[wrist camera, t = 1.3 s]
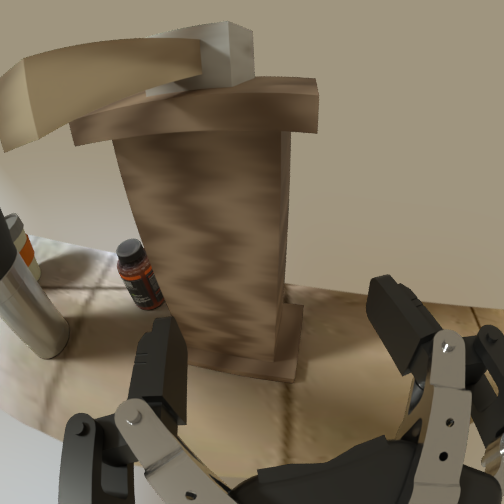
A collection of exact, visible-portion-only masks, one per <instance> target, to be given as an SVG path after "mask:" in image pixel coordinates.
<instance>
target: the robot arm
mask: <svg viewBox="0 0 504 504" xmlns="http://www.w3.org/2000/svg"><path fill="white" fill-rule="evenodd" d="M366 312H367V316H368V319H369V320H370V322H371V324H372V325H373V327H374V329H375V330H376V332H377V334H378V335H379V337H380V339H381V340H382V342H383V344H384V345H385V347H386V349H387V350H388V352H389V354H390V356H391V357H392V359H393V361H394V363H395V364H396V366H397V368H398V370H399V371H400V373H401V375H402V376H404V375H407V374H409V373H412V374H413V376H414V377H413V379H412V383H411V388H410V393H409V398H408V402H407V407H406V411H405V415H404V418H403V421H402V423H401V425H400V427H399V429H398V432H397V434H396V437H395V440H386V438H385V435H382V436H380V437H377V438H375V439H372V440H370V441H367V442H364V443H362V444H359V445H356V446H354V447H353V448H351V449H349V450H348V451H346V452H344V453H343V454H341V455H339V456H338V457H336V458H334V459H332V460H330V461H329V462H326V463H314V464H287V465H281V466H276V467H270V468H264V469H257V472H258V475H256V476H253V477H251V478H249V479H247V480H245V481H243V482H242V483H240V484H238V485H237V486H236V487H235V488H233V489H231V488H230V487H229V486H227V484H226V483H224V482H223V481H222V480H221V479H220V478H219V477H218V476H217V475H216V474H214V473H213V472H212V471H211V470H210V469H209V468H208V467H207V466H206V465H205V464H204V463H203V462H202V461H201V460H200V459H199V458H198V457H197V456H196V455H195V454H194V453H193V452H192V451H191V450H190V448H189V447H188V446H187V445H186V444H185V443H184V442H183V441H182V439H181V438H180V437H179V436H178V435H177V432H178V425H187V366H188V350H187V345H186V342H185V340H184V337H183V335H182V333H181V331H180V328H179V326H178V324H177V321H176V319H175V318H174V317H173V316H171V317H163V318H156V319H155V320H154V323H153V328H152V332H148V333H145V334H144V335H143V337H142V338H141V340H140V341H139V343H138V347H137V352H136V356H135V361H134V363H135V365H134V366H133V372H132V377H131V383H130V388H129V394H128V399H127V400H126V401H124V402H123V403H122V404H120V405H119V407H118V408H117V410H116V412H115V413H114V414H111V415H108V416H104V417H101V418H97V419H93V418H92V417H91V416H90V415H88V414H85V413H78V414H75V415H74V416H72V417H71V418H70V419H69V421H68V422H67V424H66V428H65V434H64V441H63V449H62V456H61V467H60V477H59V495H58V504H135V496H134V462H137V461H139V462H140V463H141V465H142V466H143V468H144V469H145V473H144V475H145V478H146V479H147V481H148V482H149V484H150V485H151V486H152V488H153V489H154V490H155V491H156V493H157V494H158V495H159V496H160V498H161V499H162V500H163V501H164V502H165V504H501V501H502V496H504V335H503V333H502V332H501V331H500V330H499V329H498V328H497V327H495V326H492V325H484V326H483V327H481V329H480V330H479V332H478V334H477V335H476V336H468V337H461V336H460V335H459V334H458V333H457V332H455V331H452V330H443V329H442V327H441V326H440V325H439V324H438V322H437V321H436V320H435V318H434V317H433V316H432V315H431V313H430V312H429V311H428V310H427V308H426V307H425V306H423V304H422V302H421V301H420V300H419V299H417V296H416V295H415V294H414V293H413V292H412V291H411V289H409V288H407V287H406V286H404V285H403V284H401V283H400V284H397V283H396V282H395V280H394V279H393V278H392V277H391V276H390V275H383V276H379V277H375V278H372V279H371V281H370V286H369V292H368V298H367V303H366ZM0 317H1V318H2V319H3V321H4V322H5V323H6V324H7V325H8V326H9V327H10V328H11V330H12V331H13V332H14V333H15V334H16V335H17V336H18V337H19V338H20V339H21V340H22V341H23V342H24V343H25V344H26V345H27V346H28V347H29V348H30V349H31V350H32V351H33V352H34V353H35V354H36V355H37V356H39V357H40V358H43V359H49V358H52V357H54V356H56V355H57V354H59V353H60V352H61V351H62V349H63V348H64V347H65V345H66V343H67V341H68V338H69V325H68V323H67V321H66V320H65V319H64V317H63V316H62V315H61V314H60V312H59V311H58V310H57V309H56V307H55V306H54V304H53V303H52V302H51V300H50V299H49V298H48V296H47V295H46V294H45V292H44V291H43V289H42V288H41V286H40V285H39V284H38V282H37V281H36V279H35V278H34V276H33V275H32V273H31V272H30V270H29V268H28V267H27V265H26V264H25V262H24V260H23V259H22V257H21V255H20V254H19V252H18V250H17V249H16V247H15V245H14V243H13V241H12V238H11V234H10V231H9V228H8V225H7V223H6V220H5V218H4V216H3V213H2V211H1V209H0ZM487 369H488V371H489V373H490V374H491V376H492V378H493V379H494V381H495V383H496V385H497V386H498V389H499V394H498V397H497V395H496V394H495V392H494V390H493V388H492V387H491V385H490V383H489V381H488V380H487V378H486V376H485V374H484V373H485V372H486V371H487ZM470 415H471V417H472V419H473V421H474V423H475V425H476V427H477V429H478V432H479V434H480V436H481V439H482V441H483V444H484V446H485V448H486V451H485V455H484V456H483V458H482V460H481V464H482V466H483V467H486V469H485V472H482V471H479V470H477V469H474V468H471V467H468V466H466V465H464V464H463V461H464V456H465V451H466V446H467V439H468V432H469V424H470Z"/></svg>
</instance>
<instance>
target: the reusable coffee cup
mask: <svg viewBox="0 0 504 504" xmlns="http://www.w3.org/2000/svg"><path fill="white" fill-rule="evenodd" d="M4 218H5V220H6V223H7V225H8V228H9V231H10V234H11V238H12V241H13V243H14V245H15V247H16V249H17V250H18V252H19V254H20V255H21V257H22V259H23V260H24V262H25V264H26V265H27V267H28V268H29V270H30V272H31V273H32V275H33V276H34V278H35V279H36V281H38V280H39V278H40V275H41V270H40V268H39V266H38V263H37V261H36V259H35V256H34V250H33V248H32V245H31V243H30V240H29V237H28V235H27V234H25V231H24V229H23V223H22V221H21V220H20V218H19V217H18V215H17V214H16V213H13V214H10V215H7V216H5V217H4Z"/></svg>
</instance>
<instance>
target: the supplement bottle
mask: <svg viewBox="0 0 504 504" xmlns="http://www.w3.org/2000/svg"><path fill="white" fill-rule="evenodd" d="M116 253H117V256H118V258H119V260H118V263H117V269H118V272H119V274H120V276H121V278H122V280H123V282H124V284H125V286H126V287H127V289H128V291H129V293H130V295H131V297H132V299H133V300H134V302H135V304H136V305H137V306H138V307H139V308H141V309H144V310H151V309H154V308H156V307H158V306H159V305H161V304H162V303H163V301H164V300H165V299H164V297H163V294H162V292H161V289H160V287H159V285H158V282H157V280H156V277H155V275H154V272H153V270H152V267H151V264H150V262H149V259H148V256H147V254H146V251H145V248H143V247H142V245H141V242H140V241H139V240H137V239H129V240H126V241H124V242H122V243H121V244H120V245H119V246H118V248H117V250H116Z"/></svg>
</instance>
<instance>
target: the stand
mask: <svg viewBox="0 0 504 504" xmlns="http://www.w3.org/2000/svg"><path fill="white" fill-rule="evenodd" d="M318 109H319V93H318V89H317V83H316V79H315V78H300V77H271V76H270V77H265V76H263V77H262V76H261V77H255V78H254V79H251V80H248V81H246V82H243V83H241V84H238V85H236V86H233V87H223V88H209V89H198V90H189V91H181V92H173V93H166V94H160V95H154V96H148V97H146V90H145V91H142V92H139V93H136V94H133V95H131V96H128V97H125V98H123V99H120V100H118V101H115V102H113V103H110V104H108V105H105V106H103V107H101V108H99V109H96V110H94V111H92V112H90V113H88V114H85V115H83V116H81V117H79V118H77V119H75V120H73V121H71V122H69V125H70V130H71V134H72V137H73V141H74V145H75V146H80V145H85V144H90V143H95V142H100V141H106V140H112V141H113V146H114V149H115V154H116V158H117V162H118V166H119V169H120V173H121V177H122V180H123V184H124V187H125V190H126V194H127V197H128V200H129V203H130V207H131V210H132V213H133V216H134V219H135V222H136V225H137V228H138V231H139V234H140V237H141V240H142V243H143V245H144V248H145V251H146V254H147V256H148V259H149V262H150V264H151V267H152V270H153V272H154V275H155V277H156V280H157V282H158V285H159V287H160V289H161V292H162V294H163V297H164V299H165V301H166V304H167V306H168V308H169V311H170V313H171V315H172V316H173V317H174V318H175V319H176V321H177V324H178V326H179V328H180V331H181V333H182V335H183V337H184V340H185V342H186V345H187V350H188V364H189V365H194V366H198V367H202V368H206V369H211V370H216V371H220V372H225V373H230V374H236V375H241V376H247V377H252V378H259V379H265V380H272V381H279V382H287V383H294V379H295V373H296V366H297V358H298V351H299V343H300V335H301V326H302V317H303V308H304V305H297V304H289V303H283V295H284V280H285V266H286V249H287V232H288V231H287V230H288V211H289V185H290V151H291V132H303V133H315V134H317V131H318V130H317V129H318Z"/></svg>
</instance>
